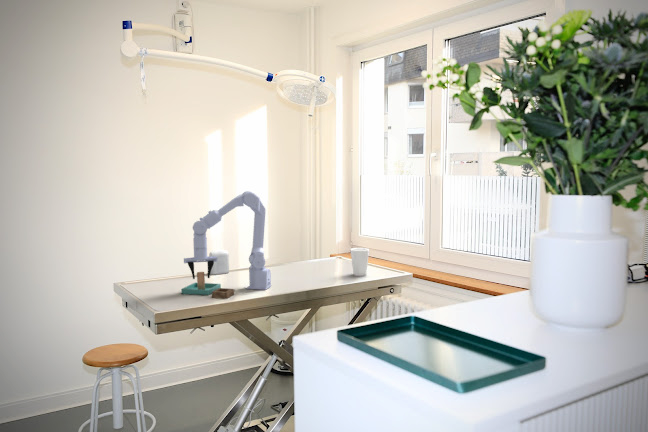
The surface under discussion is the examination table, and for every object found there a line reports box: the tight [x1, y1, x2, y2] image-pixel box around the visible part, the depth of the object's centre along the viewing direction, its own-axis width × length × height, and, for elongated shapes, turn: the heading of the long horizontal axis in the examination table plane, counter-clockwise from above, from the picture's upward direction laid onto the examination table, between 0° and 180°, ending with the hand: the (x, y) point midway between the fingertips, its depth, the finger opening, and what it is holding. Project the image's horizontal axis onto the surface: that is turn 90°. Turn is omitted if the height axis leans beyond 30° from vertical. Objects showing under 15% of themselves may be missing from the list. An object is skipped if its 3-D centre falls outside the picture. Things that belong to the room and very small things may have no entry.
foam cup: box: [350, 247, 370, 277], centre depth 279 cm, size 10×9×13 cm
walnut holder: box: [211, 287, 235, 299], centre depth 237 cm, size 7×7×2 cm
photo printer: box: [208, 249, 230, 276], centre depth 283 cm, size 10×4×12 cm, turn 123°
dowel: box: [196, 271, 206, 290], centre depth 245 cm, size 3×3×8 cm
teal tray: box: [180, 282, 222, 296], centre depth 246 cm, size 13×13×2 cm
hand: (201, 278), depth 245 cm, fingers open, 6 cm apart
